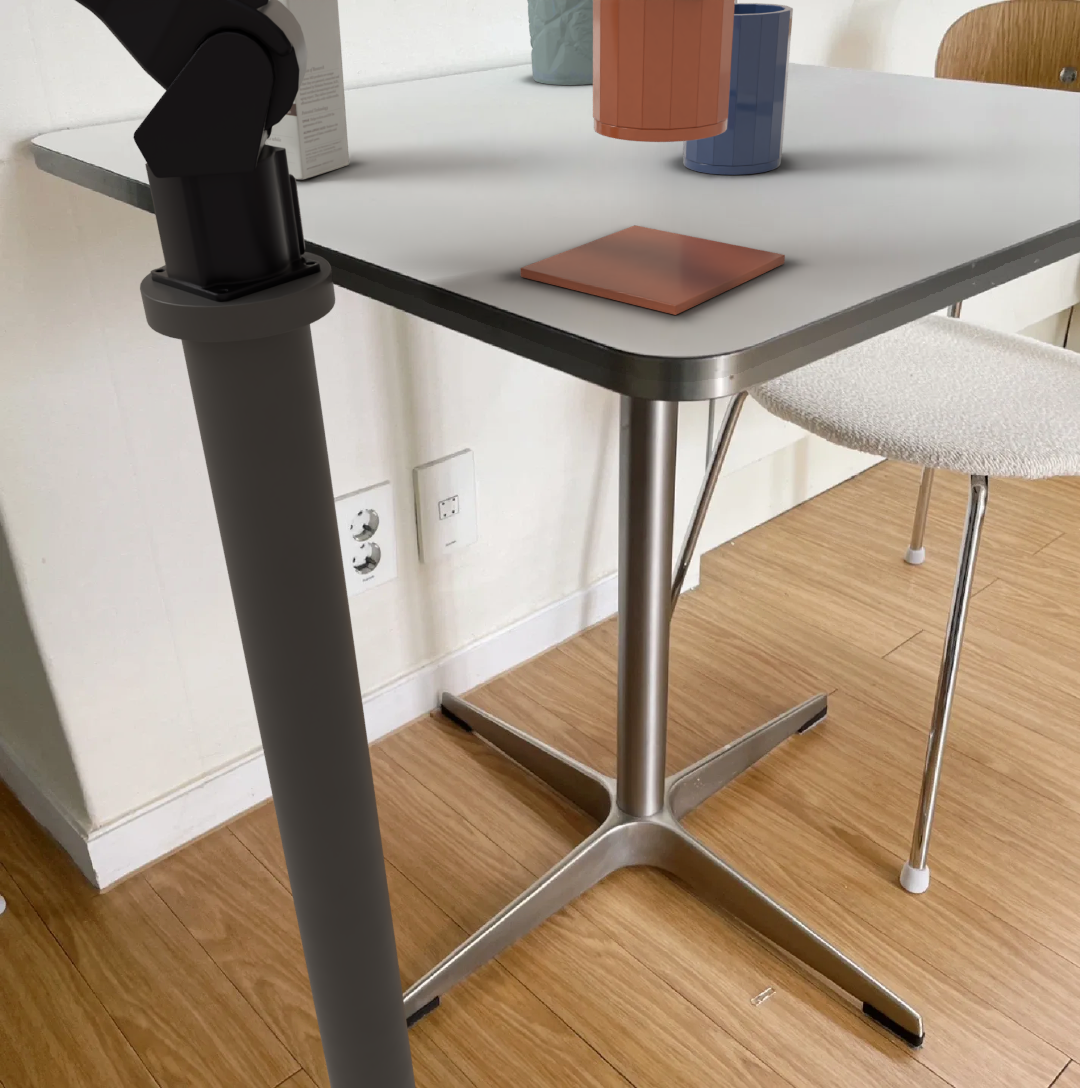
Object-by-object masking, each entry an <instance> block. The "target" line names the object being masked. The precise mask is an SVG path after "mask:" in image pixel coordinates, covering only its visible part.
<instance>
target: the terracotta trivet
mask: <svg viewBox="0 0 1080 1088" xmlns="http://www.w3.org/2000/svg"><path fill="white" fill-rule="evenodd" d="M785 258H786V254H783V253H778V252H773V251H767V250H762V249H757V248H753V247H747V246H742V245H738V244H731V243H727V242H721V241H717V240H712V239H707V238H702V237H697V236H692V235H691V236H690V235H687V234H681V233H676V232H670V231H667V230H661V229H655V228H651V227H645V226H642V225H641V226H640V225H632V226H630V227H629V226H628V227H627V228H624V229H622V230H619V231H616V232H614V233H611V234H608V235H605V236H602V237H599V238H597V239H595V240H594V239H593V240H592V241H589V242H586V243H584V244H580V245H579V246H575V247H573V248H570V249H568V250H565V251H562V252H560V253H557V254H555V255H552V256H549V257H546V258H543V259H541V260H538V261H536V262H533V263H530V264H528V265H527V264H526V265H525V266H522V267H520V269H519V270H520V277H521V278H523V279H528V280H532V281H537V282H539V283H544V284H549V285H553V286H556V287H561V288H565V289H569V290H572V291H577V292H580V293H584V294H589V295H592V296H596V297H601V298H605V299H609V300H612V301H618V302H621V303H624V304H628V305H629V304H630V305H634V306H638V307H641V308H646V309H649V310H653V311H658V312H662V313H666V314H670V315H675V316H676V315H679V314H681V313H683V312H685V311H688V310H689V309H692V308H694V307H695V306H698V305H700V304H703V303H704V302H706V301H708V300H711V299H713V298H716V297H717V296H719V295H721V294H723V293H725V292H728V291H730V290H732V289H733V288H736V287H738V286H740V285H743V284H744V283H747V282H748V281H751V280H753V279H755V278H757V277H759V276H761V275H763V274H765V273H767V272H769V271H772V270H774V269H776V268H778V267H780V266H782V265H784V264H785V260H786V259H785Z"/></svg>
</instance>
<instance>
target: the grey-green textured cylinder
mask: <svg viewBox="0 0 1080 1088" xmlns="http://www.w3.org/2000/svg"><path fill="white" fill-rule="evenodd" d="M526 1H527V17H528V24H529V25H528V29H529V36H530V38H529V39H530V40H529V42H530V47H531V52H530V57H531V58H530V59H531V71H532V77H533V80H534V81H535V82H537V83H540V84H545V85H557V86H580V85H583V86H584V85H593V0H526Z"/></svg>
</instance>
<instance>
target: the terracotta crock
mask: <svg viewBox="0 0 1080 1088" xmlns="http://www.w3.org/2000/svg"><path fill="white" fill-rule="evenodd" d="M735 3H736V0H593V84H592V118H593V130H594V132H595V133H597V134H599V135H601V136H603V137H606V138H609V139H610V138H611V139H615V140H620V141H629V142H642V143H643V142H644V143H674V142H675V143H676V142H677V143H678V142H683V141H690V140H698V139H704V138H709V137H713V136H716V135H719V134H722V133H723V132H725V131H726V130H727V125H728V109H729V92H730V75H731V58H732V41H733V24H734V7H735Z"/></svg>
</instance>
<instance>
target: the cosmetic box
mask: <svg viewBox="0 0 1080 1088" xmlns="http://www.w3.org/2000/svg"><path fill="white" fill-rule="evenodd" d="M278 1H280V2H281V3H282V4H283V5H284V6H285V7H286V8H287V9H288V10H289V11H290V12H291V13H292V14H293V15H294V17H295V18H296V20H297V21H298V23H299V24H300V26H301V30H302V32H303V35H304V40H305V44H306V48H307V69H306V73H305V76H304V78H303V81H302V83H301V86H300V88H299V91H298V93H297V96H296V98H295V100H294V103H293V105H292V108H291V109H290V110H289V111H288V113H287V114H286V115H285V116H284V117H283V119H282V120H281V121H280V122H279V123H277V124H276V125H274V126H273V127H272V132H271V135H270V137H269V138H268V139H267V140H266V142H265V145H271V146H276V147H281V148H285V149H286V155H287V162H288V169H289V174H291V175H293V176H294V177H295V178H296V180H307V179H310V178H314V177H316V176H319V175H322V174H325V173H328V172H332V171H335V170H339V169H341V168H343V167H347V166H349V165H350V155H349V153H350V152H349V140H348V128H347V127H348V126H347V111H346V99H345V82H344V70H343V54H342V41H341V40H342V39H341V29H340V27H341V26H340V14H339V0H278Z"/></svg>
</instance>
